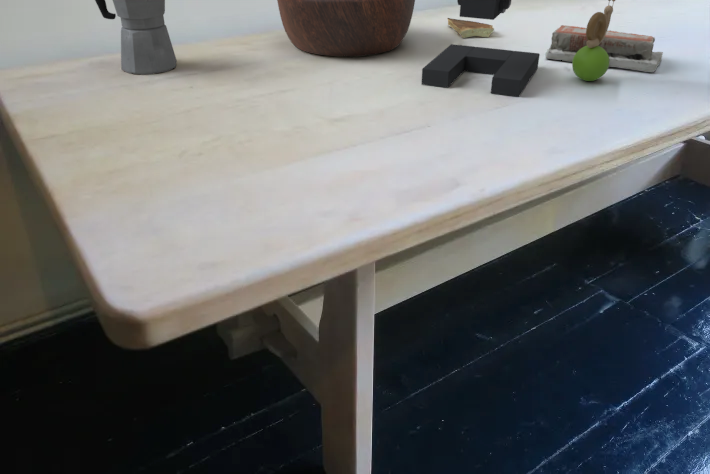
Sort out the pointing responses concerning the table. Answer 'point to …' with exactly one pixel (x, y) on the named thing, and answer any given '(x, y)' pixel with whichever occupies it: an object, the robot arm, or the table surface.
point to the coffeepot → (142, 35)
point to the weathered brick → (607, 48)
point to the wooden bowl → (346, 25)
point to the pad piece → (480, 9)
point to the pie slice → (470, 28)
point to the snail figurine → (594, 48)
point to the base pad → (483, 67)
